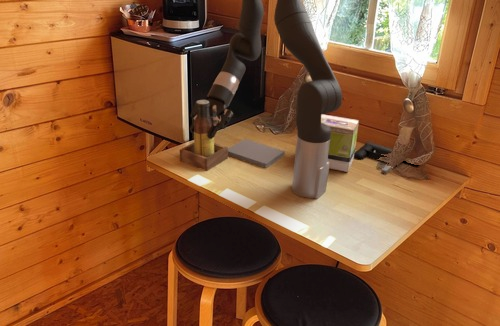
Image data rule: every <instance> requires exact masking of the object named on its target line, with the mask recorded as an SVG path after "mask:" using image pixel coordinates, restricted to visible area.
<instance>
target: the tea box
mask: <svg viewBox="0 0 500 326" xmlns="http://www.w3.org/2000/svg"><path fill="white" fill-rule="evenodd" d="M321 123H324V124H326V125H328V126H329V127H330V129H331V138H330V145H329V152H328V160H327V161H328V162H330V165H329V170H330V169H331V170H336V171H340V172H345V173H348V172H349V171H350V168H351V166H352V163H353V161H354V159H355V158H354V153H355V152H356V146H357V138H358V131H359V123H360V120H359V119H353V118H347V117H341V116H335V115H330V114H329V115H328V114H322V115H321Z"/></svg>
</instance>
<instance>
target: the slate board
mask: <svg viewBox="0 0 500 326" xmlns="http://www.w3.org/2000/svg"><path fill="white" fill-rule="evenodd" d="M285 155H286V151H285V150H283V149H280V148H278V147H277V148H276V147H273V146H269V145H266V144H265V143H259V142H257V141H254V140H251V139H247V138H244V139H242V140H241V141H239V142H237V143H235V144H233V145H231V146H230V147H228V157H231V158H234V159H238V160H241V161H243V162H247V163H250V164H253V165H255V166H259V167H262V168H265V169H267V168H269V167H270V166H271V165H273V164H274V163H275V162H277V161H279V160H280V159H281V158H282V157H284V156H285Z"/></svg>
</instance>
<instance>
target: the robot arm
mask: <svg viewBox="0 0 500 326" xmlns="http://www.w3.org/2000/svg"><path fill="white" fill-rule="evenodd" d="M275 5H276V6H275V9H274V10H275V11H274V16H273V17H274V20H273V21H274V24H275V25H274V26H275V27H276V30H277V33H278V35H279V38H280V40H281V42H282V44H283V46H284V47H285V48H286V50H287V51H289V53H291V54H292V56H293V57H295V58H296V59H297V60H298V61H299V62H300V64H302V65H303V67H304V68H305V69H306V71H307V72H308V75H309V76H310V79H311V80H310V81H306V82H304V83H302V84H301V86H300V87H299V89H298V92H297V96H296V110H295V125H296V130H297V136H296V144H295V145H296V146H295V155H294V164H293V171H292V172H293V173H292V184H291V190H292V192H293V193H294V194H296V195H297V196H300V197H301V198H302V197H303V198H309V199H315V200H316V199H319V198H321V196H322V195H323V194H324V193H326V191H327V187H328V186H327V184H328V178H329V170H330V168H329V165H330V162H328V161H327V160H328V152H329V145H330V138H331V129H330V127H329V126H328V125H326V124H324V123H321V115H322V114H324V115H326V114H329V113H333V112H335V111H337V110H339V109H340V107H341V106H342V103H343V92H342V89H341V86H340V83H339V82H338V79H337V78H336V76H335V74H334V72H333V69H332V68H331V66H330V64H329V62H328V60H327V59H326V56H325V54H324V52H323V50H322V47H321V44H320V42H319V40H318V37H317V34H316V32H315V29H314V27H313V24H312V21H311V19H310V16H309V14H308V11H307V9H306V6H305V5H304V2H303V0H277V1H276V4H275ZM240 9H241V10H240V14H239V21H238V24H237V25H238V28H237V29H238V32H237V33H235V34H234V35H232V37H231V38H230V41H229V44H228V45H229V46H228V52H227V56H226V59H225V62H224V63H223V66H222V68H221V70H220V72H219V73H218V75H217V77H216V78H215V80H214V82H213V83H212V85H211V88H210V89H209V91H208V94H207V96H206V99H205V100H207V101H209V104H210V106H209V116H210V119H212V123H213V126H212V127H211V129H210V131H209V133H208V135H207V137H208V138H209V139H212V138H213V137H214V138H215V137H216V134H217V132H218V130H220V129H222V130H225V129H226V127H227V126H228V124H229V123H230V121H231V119H232V118H233V116H234V112H233V111H232V110H231V109H227V108H228V107H229V106H230V104H231V102H232V100H233V98H234V96H235V94H236V91H238V88H239V84H240V82H241V81H242V78H243V76H244V75H245V72H246V70H247V69H246V65H245V63H243V62H242V61H241V60H239V59H238V58H237V56H238V57H240V58H243V59H245V60H247V61H250V62H252V61H253V62H254V61H256V60H257V59H258V58H259V57H260V55H261V53H262V38H261V28H262V23H263V19H264V13H265V11H264V4H263V1H262V0H241V8H240ZM197 101H198V99H197V100H195V102H194V104H193V107H192V110H191V112H190V114H189V116H190V117H191V118H192V120H193V121H192V123H191V125H190V126H189V131H190V132H191V133H192V134H194V120H195V118H196V117H197V106H196V102H197Z"/></svg>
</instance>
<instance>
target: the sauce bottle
mask: <svg viewBox="0 0 500 326" xmlns="http://www.w3.org/2000/svg"><path fill="white" fill-rule="evenodd" d="M197 100H198V99H197ZM197 100H196V101H197ZM196 101H195V102H196ZM196 106H197V117H196V118H195V120H194V119H193V121H194V133H193V140H194V141H193V143H194V145H195V154H198V155H201V156H204V157H208V156H210V155H212V154H213V153H214V143H215V136H214V137H213V138H212V139H209V138H208V137H207V135H208V133H209V131H210V129H211V127H212V126H213V120H212V118H210V116H209V106H210V104H209V101H207V100H206V99H199V100H198V101H197V102H196Z"/></svg>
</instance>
